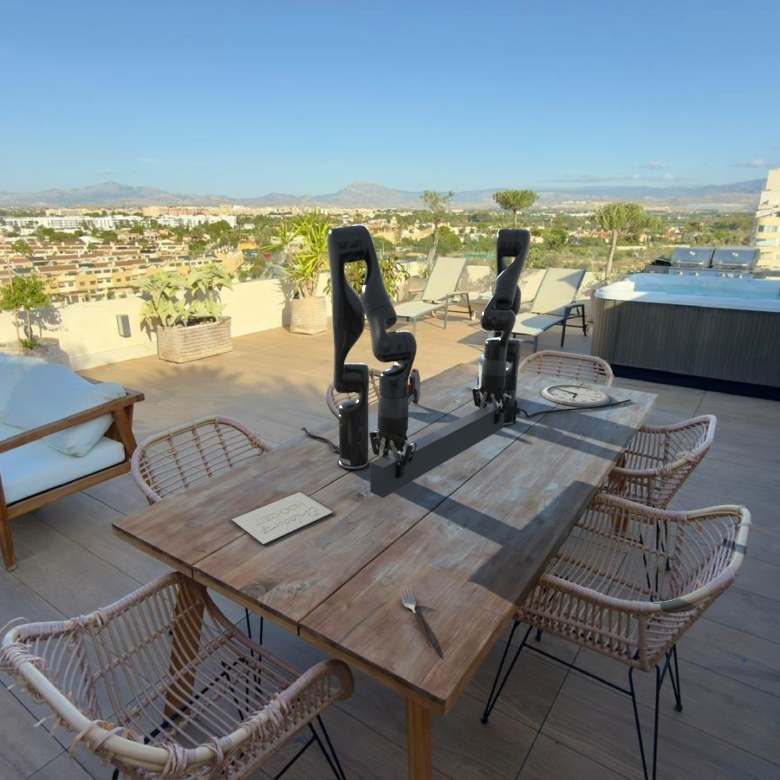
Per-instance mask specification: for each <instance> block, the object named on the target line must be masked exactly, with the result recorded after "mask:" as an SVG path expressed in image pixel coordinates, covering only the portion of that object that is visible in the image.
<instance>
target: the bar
mask: <svg viewBox="0 0 780 780" xmlns="http://www.w3.org/2000/svg"><path fill="white" fill-rule="evenodd" d="M501 406H503V404H502V405H501ZM495 413H496V412H495V407H494V406H493V403H491V404H489V405H488V404H487V406H485V407H483V408H481V409H480V408H478V409H477V410H475V411H473V412H471V413H468V414H467V415H465V416H462V417H460V418H458V419H456V420H454V421H452V422H450V423H448V424H446V425H444V426H441V427H440V428H438V429H436V430H433V431H432V432H430V433H428V434H426V435H424V436H422V437H419V438H417V439H416V440H414V441H412V442H411V441H410V442H411V443H412V444H413V443H416V444H417V447H416V450H415V453H414V456H413V459H412V462H411V463H409V464H407V465H406V466H405V471H404V475H403V476H402V477H401V478H399V479H398V478H396V465H397V464H396V459H395V457H394V456H393V452H392V451H391V452H389V453H388V454H387V455H385V456H383V457H381V458H379V457H378V458H377V459H375V460H373V461H370V463H369V464H370V466H369V467H370V469H369V471H370V472H369V473H370V474H369V475H370V476H369V477H370V478H369V490H370V491H369V492H370V493H371V494H373V495H376V496H378V497H380V498H383V499H384V498H386V497H387V496H390V495H391V494H392V493H395V492H396V491H398V490H399V489H401V488H403V487H405V486H406V485H408V484H410V483H412V482H413V481H415V480H417V479H419V478H420V477H422V476H423V475H425V474H427V473H429V472H430V471H432V470H433V469H435V468H437V467H440V465H443V464H444V463H446V462H448V461H450V460H451V459H453V458H454V457H456V456H458V455H460V454H461V453H463V452H465V451H467V450H468V449H470V448H472V447H473V446H476V445H477V444H479V443H480V442H482V441H484V440H485V439H487V438H489V437H490V436H491V437H492V436H493V435H494V434H496V433H498V432H500V431H501V430H503V429H504V425H503V423H504V413H501V421H500V422H499V423H498V424H494V417H495ZM404 447H405V445H404ZM399 451H400V450H399ZM399 451H397V452H399ZM405 452H406V450H405ZM400 460H401V457H400Z"/></svg>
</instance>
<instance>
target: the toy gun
mask: <svg viewBox="0 0 780 780" xmlns="http://www.w3.org/2000/svg"><path fill="white" fill-rule="evenodd" d="M420 394H421V376H420V372H419V369H418V368H415V367H412V369H411V372H410V375H409V379H408V402H409V406H410V405H411V403H412V405H416V406H418V405H419V402H420V397H421V395H420Z"/></svg>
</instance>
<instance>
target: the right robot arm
mask: <svg viewBox="0 0 780 780" xmlns="http://www.w3.org/2000/svg"><path fill="white" fill-rule="evenodd" d="M530 247H531V232H530V230H528V229H526V228H507V227H506V228H499V229H498V230H497V233H496V237H495V281H494V283H493V288H492V292H491V297H490V299H489V301H488V302H487V304H486V305H485V307H484V309H483V310H482V312H481V315H480V318H479V323H480V327H481V329H483V331H487V332H492V338H491V337H490V338H487V339H486V340H485V341H484V345H483V346H484V349H483V352H484V358H483V363H482V375H481V387H480V388H479V386H477V387H474V388H472V389H471V393H472V398H473V404H474V406H475V407H477V408H478V409H481V408H483V407H485V406H487V405H488V404H487V403H488V402H491V403H493V406H494V407H495V412H496V413H495V417H494V424H498V423H499V422H500V421H501V413H504V423H503V426H511V425H513V424H516V423H517V415H520V414H521V412H522V413H524V414H525V417H527V418H533V417H534V416H536V415H539V414H547V413H557V412H568V411H581V410H591V409H597V408H598V409H600V408H605V407H611V406H615V405H621V404H624V403H628V402H631V400H632V399H625V400H622V401H617V402H613V403H608V404H606V405H600V406H593V407H572V408H561V409H549V410H540V411H537V412H534V413H532V414H531V415H530V414H528V412H527V411H526V410H524V409H522V408H521V407H520V406H518V399H517V388H518V377H519V376H518V375H519V366H520V359H521V353H522V352H521V351H522V343H521V341H520V340H519V339H515V338H510V337H511V335H512V332H513V330H514V327H515V324H516V321H517V320H516V319H517V318H516V317H517V315H518V314H519V312H520V311H521V302H522V301H521V300H522V290H521V288H520V286H519V284H518V283H519V279H520V277H521V274H522V272H523V269H524V267H525V263H526V261H527V258H528V255H529V252H530ZM507 258H514V259H513V261H512V262H511V263H510V264H509V265H508V261H507ZM506 363H508V364H509V365H508V366H509V367H507V368H506ZM480 392H481V394H482V396H483V397H482V396H481V394H480ZM502 404H503V406H501V405H502Z"/></svg>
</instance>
